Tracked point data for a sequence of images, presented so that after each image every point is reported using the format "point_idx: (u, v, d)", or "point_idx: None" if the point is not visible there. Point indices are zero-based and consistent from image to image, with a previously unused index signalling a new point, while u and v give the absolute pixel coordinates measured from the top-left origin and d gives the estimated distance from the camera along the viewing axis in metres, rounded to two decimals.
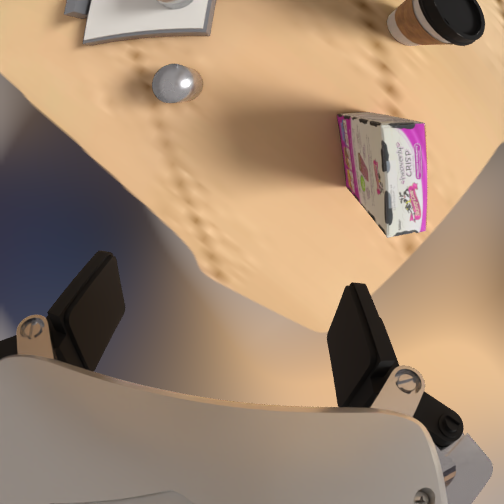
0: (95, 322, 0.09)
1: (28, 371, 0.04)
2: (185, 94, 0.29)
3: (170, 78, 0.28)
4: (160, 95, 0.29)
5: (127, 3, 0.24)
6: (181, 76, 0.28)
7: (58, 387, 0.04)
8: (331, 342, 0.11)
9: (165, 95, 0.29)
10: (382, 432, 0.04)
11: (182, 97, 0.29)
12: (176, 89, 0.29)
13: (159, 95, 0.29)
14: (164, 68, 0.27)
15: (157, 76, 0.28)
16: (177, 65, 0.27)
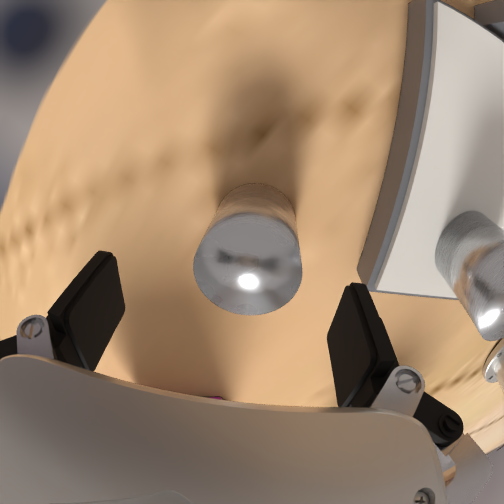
0: (95, 322, 0.09)
1: (28, 371, 0.04)
2: (215, 301, 0.14)
3: (259, 271, 0.13)
4: (214, 245, 0.12)
5: (491, 135, 0.11)
6: (262, 296, 0.14)
7: (58, 387, 0.04)
8: (331, 342, 0.11)
9: (213, 258, 0.13)
10: (382, 432, 0.04)
11: (208, 294, 0.14)
12: (227, 283, 0.13)
13: (214, 242, 0.12)
14: (293, 258, 0.12)
15: (272, 239, 0.12)
16: (294, 289, 0.13)
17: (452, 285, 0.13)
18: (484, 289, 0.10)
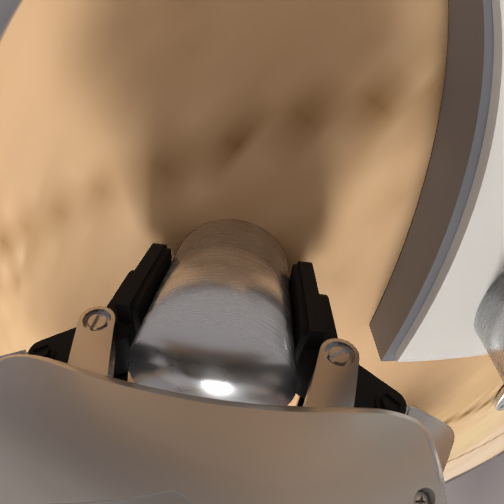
0: None
1: (28, 371, 0.04)
2: None
3: (228, 385, 0.07)
4: (151, 350, 0.07)
5: None
6: None
7: (58, 387, 0.04)
8: None
9: (154, 365, 0.07)
10: (382, 432, 0.04)
11: None
12: (182, 392, 0.08)
13: (151, 347, 0.07)
14: (282, 372, 0.07)
15: (246, 350, 0.07)
16: (284, 402, 0.08)
17: (496, 360, 0.08)
18: None
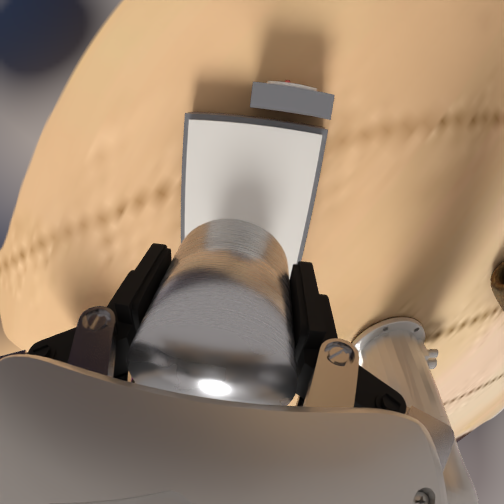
0: None
1: (28, 371, 0.04)
2: None
3: (228, 384, 0.07)
4: (151, 349, 0.07)
5: (239, 200, 0.25)
6: None
7: (58, 387, 0.04)
8: None
9: (153, 365, 0.07)
10: (382, 432, 0.04)
11: None
12: (182, 392, 0.08)
13: (150, 346, 0.07)
14: (282, 371, 0.07)
15: (246, 349, 0.07)
16: (284, 401, 0.08)
17: None
18: None
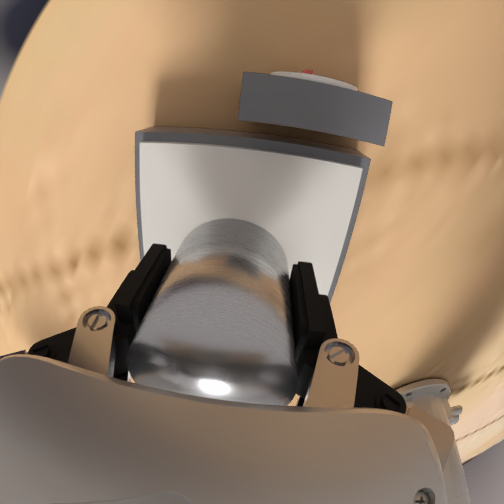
0: None
1: (28, 371, 0.04)
2: None
3: (228, 384, 0.07)
4: (151, 349, 0.07)
5: None
6: None
7: (58, 387, 0.04)
8: None
9: (153, 365, 0.07)
10: (382, 432, 0.04)
11: None
12: (182, 392, 0.08)
13: (150, 346, 0.07)
14: (282, 371, 0.07)
15: (246, 349, 0.07)
16: (284, 401, 0.08)
17: None
18: None
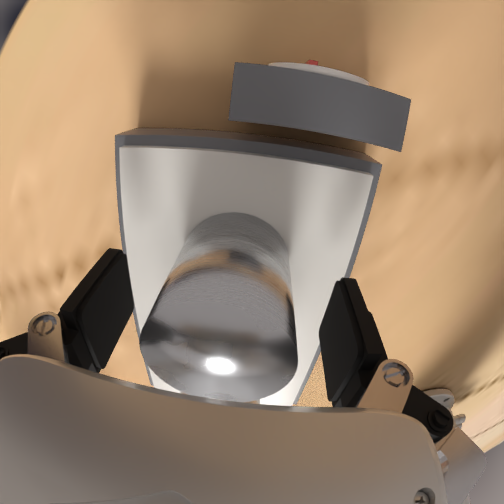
0: (106, 319, 0.09)
1: (28, 371, 0.04)
2: (178, 387, 0.09)
3: (234, 361, 0.08)
4: (163, 327, 0.08)
5: None
6: (241, 386, 0.09)
7: (58, 387, 0.04)
8: (322, 337, 0.11)
9: (165, 343, 0.08)
10: (382, 432, 0.04)
11: (166, 379, 0.09)
12: (190, 371, 0.09)
13: (163, 324, 0.08)
14: (284, 347, 0.08)
15: (251, 324, 0.07)
16: (286, 379, 0.09)
17: None
18: None
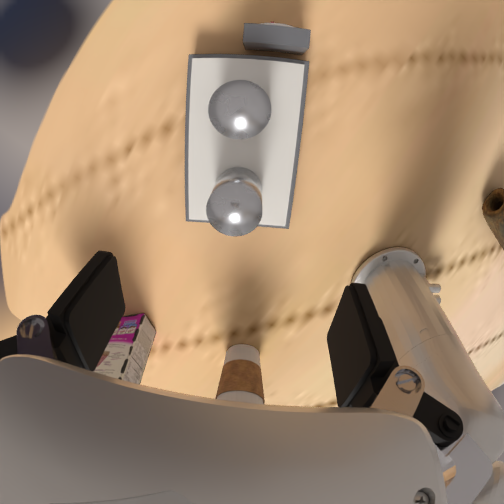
0: (95, 322, 0.09)
1: (28, 371, 0.04)
2: (221, 131, 0.21)
3: (246, 107, 0.20)
4: (220, 94, 0.20)
5: None
6: (250, 123, 0.21)
7: (58, 387, 0.04)
8: (331, 342, 0.11)
9: (219, 102, 0.20)
10: (382, 432, 0.04)
11: (216, 127, 0.21)
12: (228, 117, 0.21)
13: (220, 92, 0.20)
14: (264, 97, 0.20)
15: (251, 87, 0.19)
16: (268, 116, 0.21)
17: None
18: None
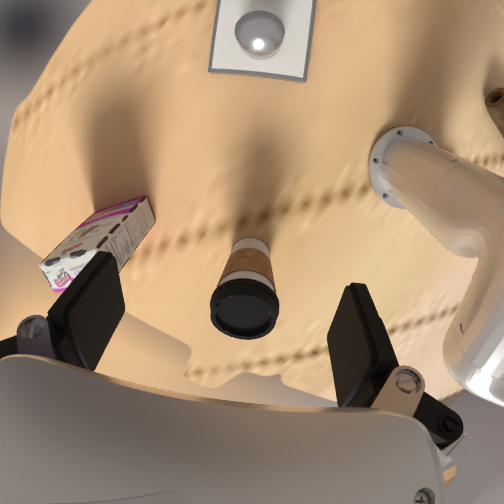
0: (95, 322, 0.09)
1: (28, 371, 0.04)
2: None
3: None
4: None
5: None
6: None
7: (58, 387, 0.04)
8: (331, 342, 0.11)
9: None
10: (382, 432, 0.04)
11: None
12: None
13: None
14: None
15: None
16: None
17: None
18: None
